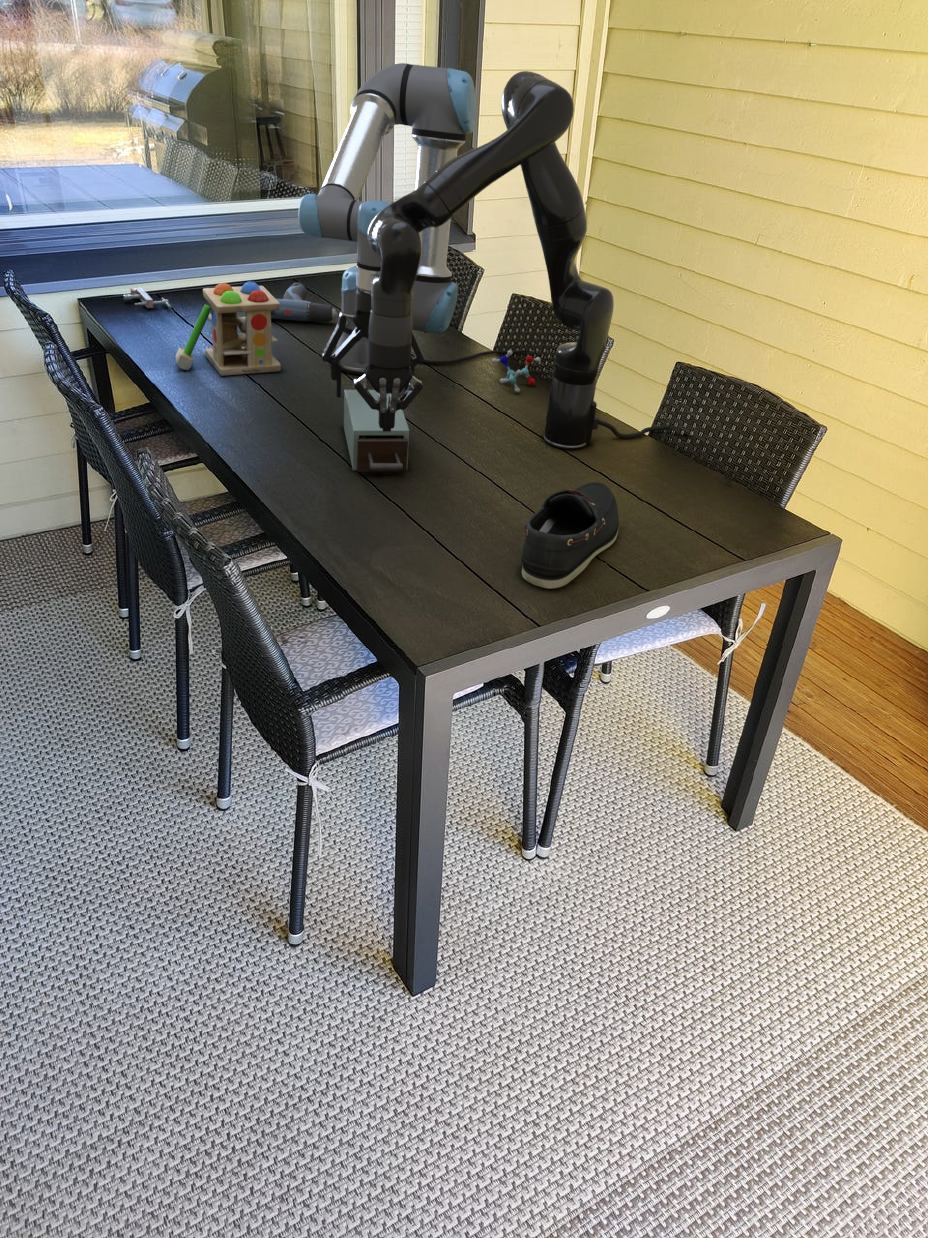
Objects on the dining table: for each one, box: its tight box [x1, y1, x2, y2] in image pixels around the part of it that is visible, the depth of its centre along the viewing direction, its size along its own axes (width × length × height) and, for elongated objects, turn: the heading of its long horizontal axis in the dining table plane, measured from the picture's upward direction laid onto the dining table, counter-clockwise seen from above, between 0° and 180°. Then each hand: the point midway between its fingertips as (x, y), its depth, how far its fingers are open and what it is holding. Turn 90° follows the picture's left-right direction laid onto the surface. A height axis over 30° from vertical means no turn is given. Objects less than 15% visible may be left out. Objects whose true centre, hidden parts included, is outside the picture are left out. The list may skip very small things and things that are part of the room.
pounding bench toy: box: [174, 281, 282, 377], centre depth 225 cm, size 23×14×18 cm, turn 116°
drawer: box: [356, 435, 409, 473], centre depth 192 cm, size 25×10×6 cm, turn 11°
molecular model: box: [491, 349, 541, 394], centre depth 232 cm, size 12×10×10 cm
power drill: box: [271, 282, 338, 322], centre depth 265 cm, size 5×19×20 cm
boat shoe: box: [520, 481, 620, 590], centre depth 170 cm, size 13×33×10 cm, turn 147°
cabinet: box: [343, 389, 410, 471], centre depth 197 cm, size 20×11×8 cm, turn 11°
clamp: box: [122, 287, 173, 309], centre depth 261 cm, size 15×2×10 cm
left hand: (371, 395), depth 199 cm, fingers open, 13 cm apart
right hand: (386, 429), depth 180 cm, fingers closed
